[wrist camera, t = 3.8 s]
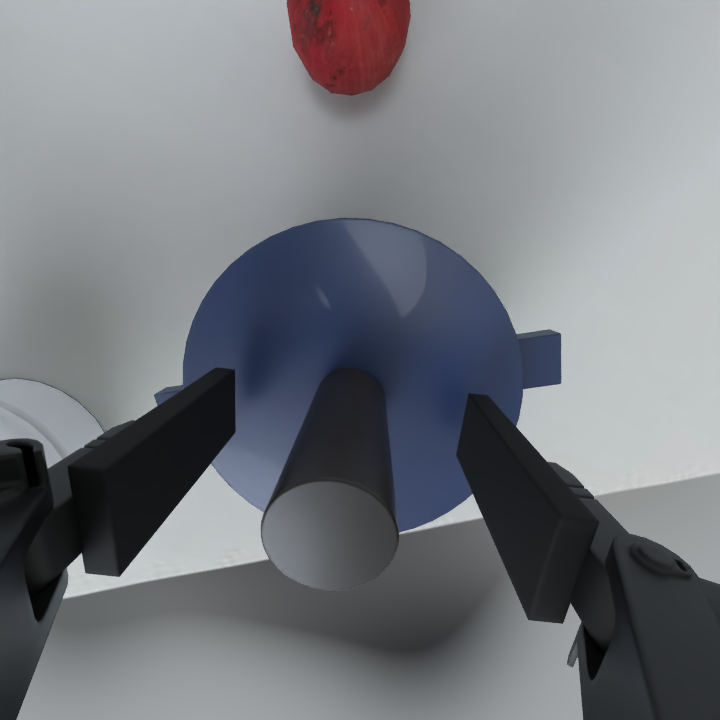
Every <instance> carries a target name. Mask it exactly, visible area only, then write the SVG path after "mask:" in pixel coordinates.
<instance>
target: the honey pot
mask: <svg viewBox="0 0 720 720" xmlns="http://www.w3.org/2000/svg"><path fill="white" fill-rule="evenodd" d="M103 433H104V431H103V430H102V428H101V427H100V425H99V424H98V422H97V421H96V419H95V418H94V417H93V416H92V415H91V414H90V413H89V412H88V411H87V410H86V409H85V408H84V407H83V406H82V405H81V404H80V403H79V402H77V401H76V400H74V399H73V398H71V397H69V396H68V395H66V394H65V393H63V392H62V391H60V390H58V389H56V388H53V387H50V386H48V385H45V384H42V383H40V382H36V381H29V380H22V379H9V380H0V441H1V440H7V439H19V438H29V439H34V440H38V441H39V442H41V443H42V444H43V447H44V453H45V458H46V463H47V468H50V467H51V466H53V465H54V464H56V463H58V462H59V461H61V460H62V459H64V458H65V457H67V456H69V455H70V454H72V453H73V452H75V451H76V450H78V449H80V448H84V445H86V444H88V443H89V442H91V441H92V440H94V439H97V437H99V436H100V435H102V434H103Z"/></svg>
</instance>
